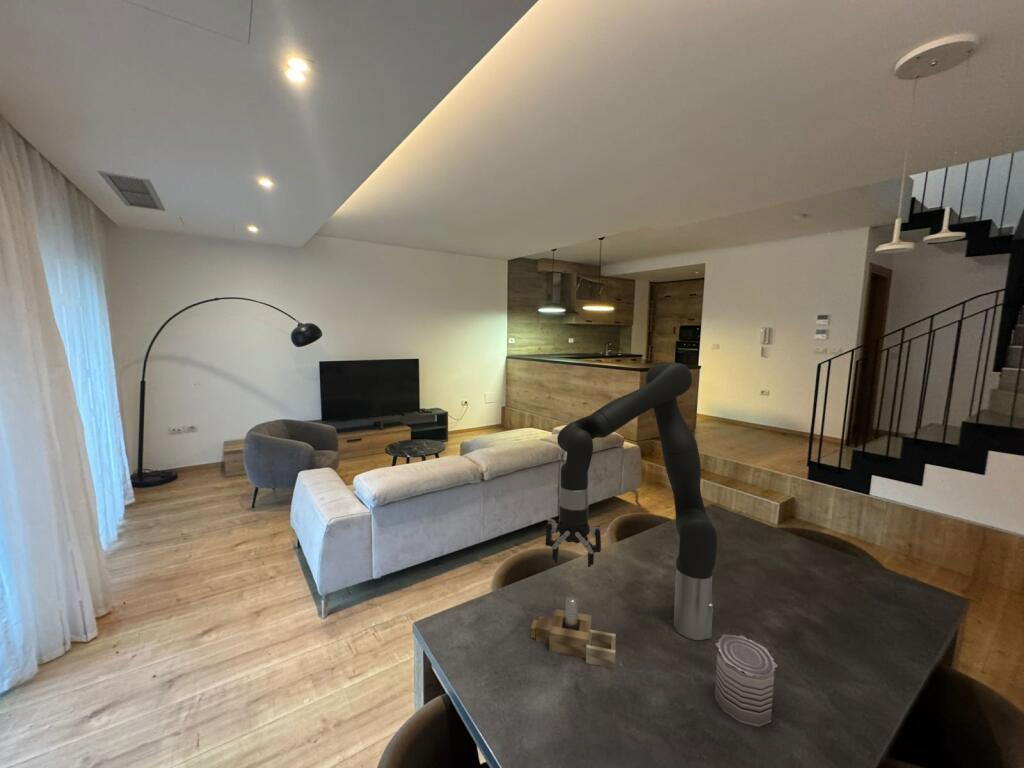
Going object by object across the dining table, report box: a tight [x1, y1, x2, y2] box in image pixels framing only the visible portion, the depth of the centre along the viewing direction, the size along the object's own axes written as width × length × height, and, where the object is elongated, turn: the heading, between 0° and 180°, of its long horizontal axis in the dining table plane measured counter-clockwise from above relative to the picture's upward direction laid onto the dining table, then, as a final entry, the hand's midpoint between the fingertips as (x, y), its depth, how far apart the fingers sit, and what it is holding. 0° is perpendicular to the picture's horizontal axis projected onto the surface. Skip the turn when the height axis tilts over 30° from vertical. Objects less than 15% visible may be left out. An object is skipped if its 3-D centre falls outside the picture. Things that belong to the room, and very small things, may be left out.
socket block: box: [535, 608, 593, 659], centre depth 109 cm, size 14×10×5 cm
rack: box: [585, 628, 617, 669], centre depth 103 cm, size 7×7×4 cm
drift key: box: [530, 619, 539, 639], centre depth 110 cm, size 8×4×3 cm, turn 75°
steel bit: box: [564, 594, 579, 630], centre depth 108 cm, size 3×3×12 cm
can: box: [714, 633, 779, 728], centre depth 89 cm, size 11×11×12 cm
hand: (572, 563), depth 107 cm, fingers open, 8 cm apart
